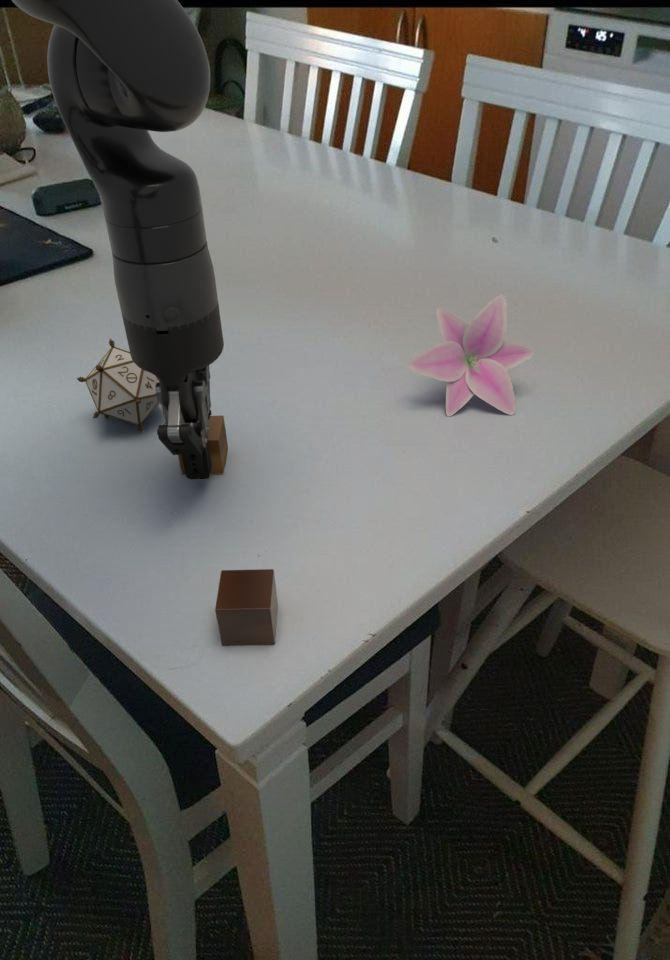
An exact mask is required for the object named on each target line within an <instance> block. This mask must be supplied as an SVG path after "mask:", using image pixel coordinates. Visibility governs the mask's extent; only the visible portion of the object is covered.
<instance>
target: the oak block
mask: <svg viewBox="0 0 670 960" xmlns="http://www.w3.org/2000/svg"><path fill="white" fill-rule="evenodd" d="M208 427H209V428H210V432H209V435H208V437H207V438H208V445H209V451H210V457H211V463H212V468H211V473H210V475H224V474H225V469H226V463H227V458H228V453H229V445H228V437H227V429H226V424H225V416H224V415H210V419H208ZM177 457H178V462H179V467H180V472H181V476H186V475H185V470H184V464H183V459H182V454H179V455H177Z"/></svg>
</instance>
